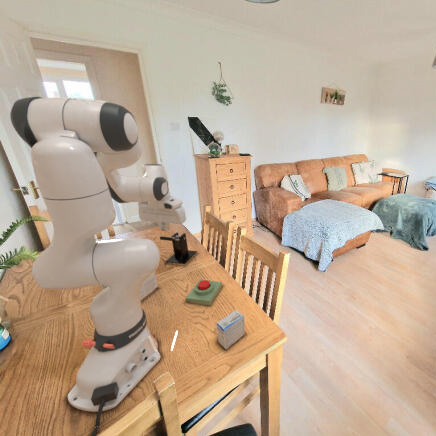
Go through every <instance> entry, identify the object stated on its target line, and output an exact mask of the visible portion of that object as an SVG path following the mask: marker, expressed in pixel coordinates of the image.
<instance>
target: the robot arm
mask: <svg viewBox="0 0 436 436" xmlns="http://www.w3.org/2000/svg"><path fill="white" fill-rule="evenodd" d="M9 115H10V118H9V119H10V122H11V125H12V127H13V129H14V130H15V132H16V134H17V135H18V136H19V137H20V138H21V139H22V141H24V142H25V143H26V144H27V146H28V147H30V148H31V150H30V156H31V165H32V168H33V173H34V177H35V181H36V184H37V187H38V189H39V193H40V195H41V197H42V199H43V202H44V204H45V206H46V210H47V212H48V215H49V218H50V220H51V224H52V228H53V229H52V230H53V233H52V234H53V235H52V239H51V241H50V244H49V245H48V246H47V247H46V248H45V249H44V250H43V251H41V252H40V253H39V254H38V255H37V256H36V258H35V259H34V261H33V263H32V266H31V275H32V279H33V280H34V282H35V283H36V284H37V285H38V286H39V287H41V288H42V289H45V290H56V291H57V290H59V291H60V290H65V291H66V290H76V289H77V290H78V289H83V288H88V287H95V286H101V285H108V286H109V287H107V288H105V289H104V290H102V289H101V290H100V291H99V292H98V293H97V294H96V295H94V297H93V298H92V300H91V301H90V304H89V308H88V312H89V315H90V318H91V320H92V324H93V326H94V331H93V338H92V339H91V338H88V337H87V338H85V339H84V340H83V341H82V343H81V346H82V348H88V349H90V350H89V351H88V353H87V355H86V357H85V359H84V360H83V361H82V363H81V365H80V367H79V369H78V371H77V372H76V376H75V384H74V385H73V387H72V388H71V390H70V391H69V392H68V394H67V401H68V403H69V404H70V406H72V407H73V408H75V409H77V410H81V411H84V412H89V413H90V412H91V413H92V412H93V413H95V412H96V413H97V414H96V417H95V423H94V428H93V431H92V434H91V436H96V435H97V434H98V430H99V428H100V422H101V417H102V412H105V411H109V410H112V409H114V408H116V407H117V406H118V405H119V404H120V403H121V402H122V401H123V400H124V399H125V398H126V397H127V396H128V394H129V393H130V392H131V391H132V390H133V389H134V388H135V387H136V386H137V385H138V384H139V382H141V381H142V379H143V378H144V377H145V376H147V374H148V373H149V372H150V371H151V370H152V369H153V368H154V366H156V364H157V363H158V362H159V361H160V360H161V354H160V352H159V350H158V349H159V348H158V347H159V344H158V341H157V339H156V338H155V337H154V336H153V334H152V333H151V331H150V329H149V326H148V320H147V316H146V311H145V310H144V308H143V307H142V302H141V300H140V294H139V293H140V288H141V285H142V283H143V282H144V281H145V279H146V278H147V277H149V276H150V275H151V274H152V273H153V272H154V271H155V272H156V271H157V269H158V267H159V265H160V262H161V250H160V248H159V246H158V245H157V243H155V241H153V240H151V239H150V238H141V237H139V238H138V237H128V238H127V237H126V238H117V239H116V238H115V239H107V240H97V238H96V237H95V236H96V235H99V234H100V233H103V232H104V231H105V230H107V229H108V228H110V227H111V226H112V225H113V224H114V222H115V220H116V216H117V212H116V208H115V205H114V201H115V202H117V204H129V203H137V206H138V217H139V220H141V221H143V222H144V221H145V222H154V223H156V225H157V227H158V228H159V229H160V231H162V232H169V231H170V228H169V227H170V225H171V224H172V225H183V224H184V223H185V222H186V221H187V215H186V212H185V211H186V210H185V208H184V206H183V201H182V200H181V199H179V198H176V197H174V196H172V195H171V193H170V189H169V180H168V175H167V171H166V169H165V166H164V165H162V164H160V163H145V164H143V165H142V167H141V169H142V170H141V171H142V176H126V175H121V174H120V172H119V169H120V170H121V169H126V168H128V167H131V166H133V165H135V164H136V163H137V162H138V161H139V160H140V158H141V157H142V154H143V145H142V142H141V140H140V138H139V128H138V123H137V121H136V118H135V116H134V114H133V113H132V112H131V111H130V110H129V109H127V107H125V106H123V105H120V104H117V103H114V102H110V101H107V100H103V99H93V100H89V99H88V100H87V99H77V98H75V97H41V96H30V97H23V98H20V99H17V100H15V101H14V102H13V105H12V107H11V109H10V114H9ZM177 336H178V330H176V331H175V334H174V338H173V341H172V344H171V349H170V351H171V352H172V351H173V350H174V346H175V343H176V339H177ZM97 426H98V427H97ZM95 427H96V428H95Z"/></svg>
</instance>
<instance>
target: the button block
mask: <svg viewBox="0 0 436 436" xmlns="http://www.w3.org/2000/svg"><path fill="white" fill-rule="evenodd" d="M203 280H204V279H199V280H198V282H196V284H195V285H194V286H193V288H192V289H191V290H190V292H189V293H188V294H187V295H186V297H185V301H186V303H189V304H194V305H195V304H197V305H203V306H211V304H212V303H213V302H214V300H215V298H216V297H217V296H218V294H219V292H220V291H221V289H222V287H223V282H222V281H214V280H207V279H206V280H207V281H209V283H210V287H209V288H208V289H206V290H200V289H199V287H198V283H199V282H201V281H203Z"/></svg>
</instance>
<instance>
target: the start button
mask: <svg viewBox="0 0 436 436" xmlns="http://www.w3.org/2000/svg"><path fill="white" fill-rule="evenodd" d="M202 280H203V281H201V282H199V281H198V282H199V283H198V282H197V283H198V287H199V289H200V290H206V289H208V288H209V287H210V283H209V281H210V280H208V281H207V279H202Z"/></svg>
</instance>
